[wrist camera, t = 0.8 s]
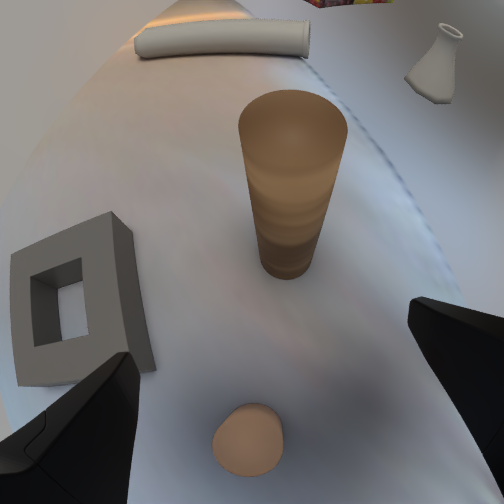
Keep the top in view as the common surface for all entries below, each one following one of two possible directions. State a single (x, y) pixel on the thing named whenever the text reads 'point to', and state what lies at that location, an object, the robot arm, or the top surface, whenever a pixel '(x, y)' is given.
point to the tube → (226, 38)
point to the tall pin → (290, 173)
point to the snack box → (343, 2)
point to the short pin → (249, 441)
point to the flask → (437, 68)
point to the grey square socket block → (96, 302)
